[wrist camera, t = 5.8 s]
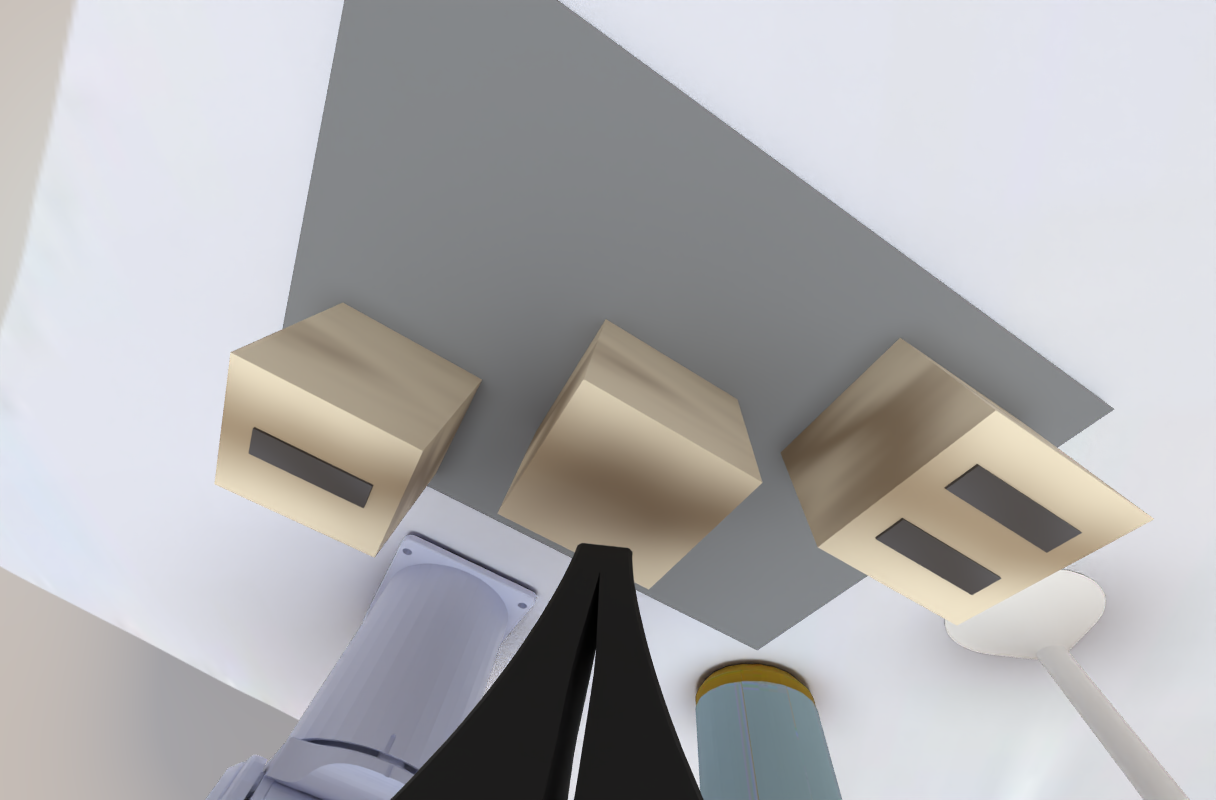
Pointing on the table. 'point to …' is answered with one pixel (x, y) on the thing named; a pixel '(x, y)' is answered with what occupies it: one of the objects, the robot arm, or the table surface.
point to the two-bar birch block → (945, 490)
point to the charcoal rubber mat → (617, 267)
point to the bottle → (761, 738)
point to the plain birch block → (634, 457)
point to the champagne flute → (1066, 664)
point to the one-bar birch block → (339, 424)
